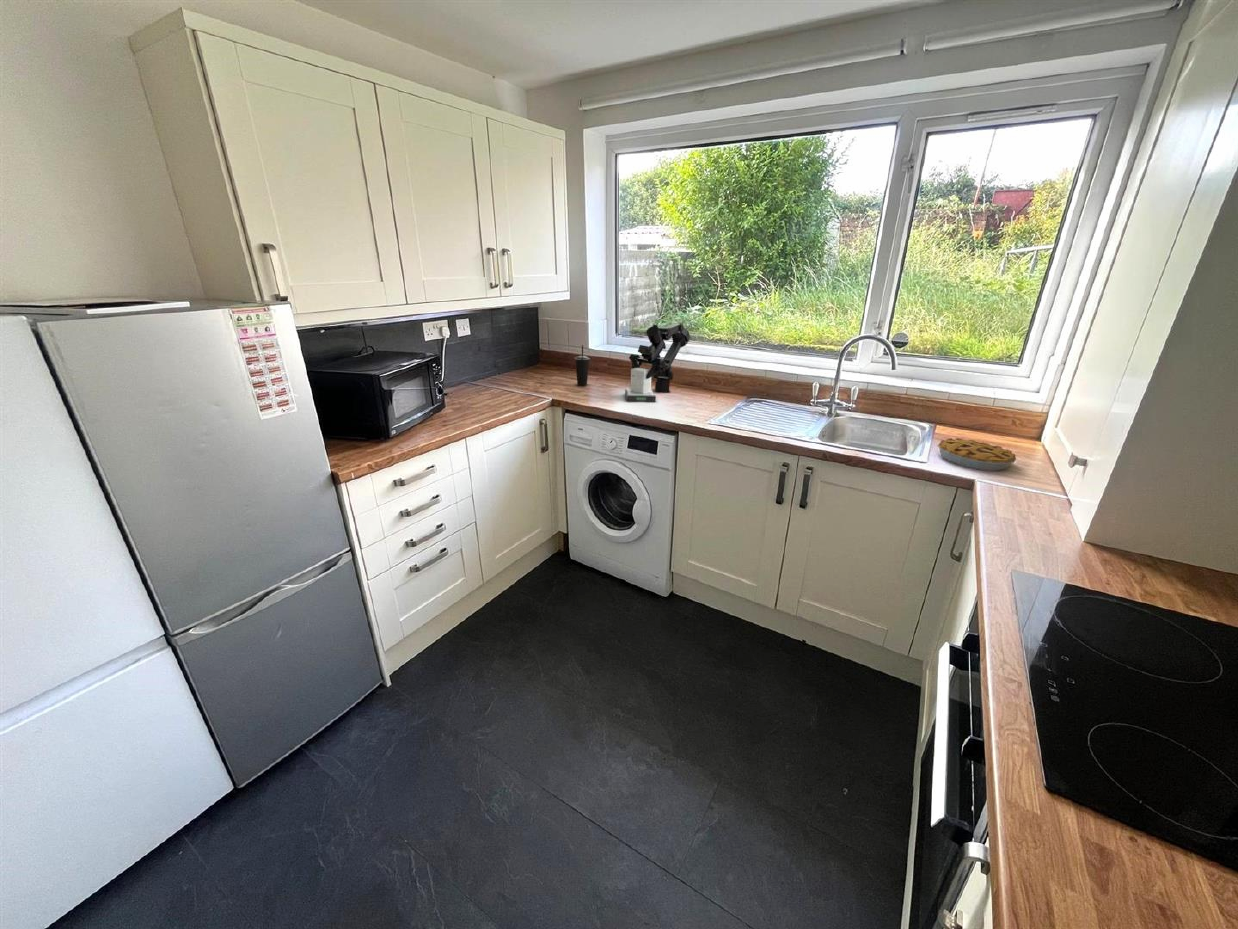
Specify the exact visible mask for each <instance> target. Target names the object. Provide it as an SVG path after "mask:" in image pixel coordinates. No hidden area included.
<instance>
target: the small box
mask: <svg viewBox="0 0 1238 929" xmlns="http://www.w3.org/2000/svg"><path fill="white" fill-rule="evenodd" d="M649 371H650V369H649V368H644V367H640V368H633V369H632V368H631V369H630V389H631V390H630V391H632V392H637V393H641V394H645V393H649V392H651V390H652V377H650V378H648V379H647V378H646V377H647V374H648V373H649Z"/></svg>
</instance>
